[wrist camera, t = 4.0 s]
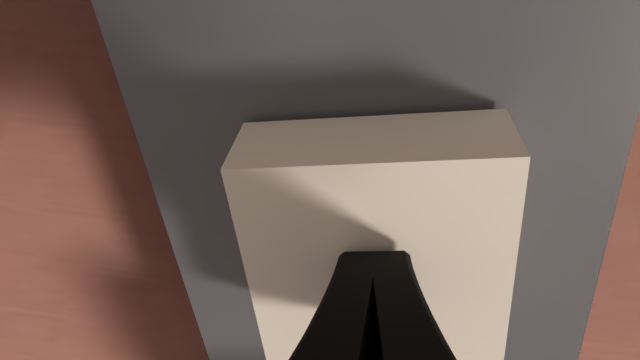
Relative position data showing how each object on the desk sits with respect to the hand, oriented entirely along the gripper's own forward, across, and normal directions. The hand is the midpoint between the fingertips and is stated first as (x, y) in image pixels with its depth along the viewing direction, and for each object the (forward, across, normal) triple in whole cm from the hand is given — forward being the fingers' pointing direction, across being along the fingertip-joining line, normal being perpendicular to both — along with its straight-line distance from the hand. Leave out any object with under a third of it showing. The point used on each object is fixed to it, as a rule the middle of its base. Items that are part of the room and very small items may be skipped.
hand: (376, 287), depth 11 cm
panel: (+5, 0, +5) cm, 7 cm away
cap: (+5, 0, 0) cm, 5 cm away
